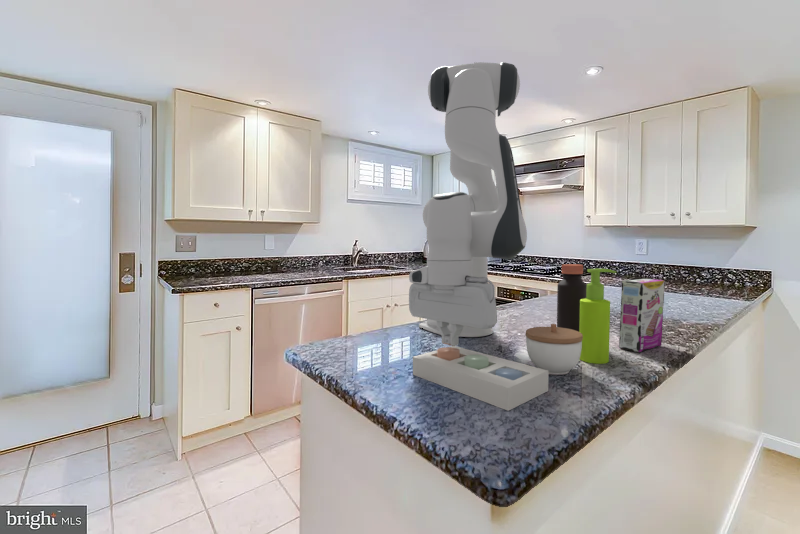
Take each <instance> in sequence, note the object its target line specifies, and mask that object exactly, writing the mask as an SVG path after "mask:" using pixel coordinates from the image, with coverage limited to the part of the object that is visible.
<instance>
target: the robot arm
mask: <svg viewBox="0 0 800 534" xmlns="http://www.w3.org/2000/svg"><path fill="white" fill-rule="evenodd" d="M519 75H520V74H519V73H518V67H516V65H515V64H512V63H508V62H504V61H503V62H500V63H498V62H497V63H495V62H484V61H483V62H474V63H465V64H455V65H451V66H448V65H444V66H440V67H438V68H435V69H434V71H433V72H432V73H431V75H430V79H429V81H428V86H427V93H428V94H427V95H428V99H429V101H430V106H431V107H432V108H433V109H435V110H436V111H438V112H441V113H445V120H444V137H445V138H444V139H445V143H446V145H447V147H448V148H449V150H450V156H449V157H450V159H449V170H450V173H451V175H452V177H453V178H454V179H456V180H457V181H459V182H461V183H463V184H464V185H465V186H466V189H467V191H468V193H466V192H462V191H454V192H445V193H437V194H434V195H433V196H431V197H430V199H429V200H427V202H426V203H425V205H424V207H423V210H422V211H423V212H422V220H423V223H424V226H425V228H426V241H427V244H428V252H427V256H426V265H425V266H423V267H421V268H418V269H415V270H413V271H410V272H409V274H408V280H409V282H410V283H411V284H410V286H409V291H408V310H409V312H410V314H411V316H412V317H414V318H415V317H416V318H420V319H425V320H426V321H422V322H420V323H419V324H418V328H420V329H422V328H423V330H426V331H428V332H430V333H434V334H438V335H439V336H441V343H442V344H444V345H447V346H449V347H451V346H457V347H458V345H459V337H462V338H463V337H465V338H478V337H485V336H489V335H491V334H493V333H494V330H493V328H494V327H495V326H496V324H497V323H498V310H497V304H496V303H497V302H496V296H495V295H496V293H495V292H496V291H495V290H496V289H495V285H494V283H493V282H492V281H491V280H489V279H488V258H494V259H501V260H502V259H503V260H511V259H513V258H514V257H517V255H519V254H520V253H521V252H522V251H524V249H525V247H526V245H527V239H528V231H527V226H526V222H525V220H524V216H523V212H522V211H523V210H522V205H521V198H520V193H519V185H518V179H517V173H516V165H515V162H514V161H515V160H514V155H513V152H512V151H513V150H512V147H511V144H510V141H509V140H508V138H507V137H506V135H503V134H500V132H499V131H498V127H497V125H496V122H497V121H496V119H497V118H496V115H497V117H501V115H502V114H501V113H503V112H505V111H507V110H509V109H510V108H511V107H512V106H513V104H515V101H516V99H517V97H518V95H519V92H520V87H521V83H520V82H521V81H520V76H519ZM492 171H493V173H494V178H495V182H494V179H493V174H492Z"/></svg>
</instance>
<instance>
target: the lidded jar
mask: <svg viewBox="0 0 800 534" xmlns="http://www.w3.org/2000/svg"><path fill="white" fill-rule="evenodd" d="M525 338H526V339H525V343H526V351H527V355H528V358H529V359H530V361H531V363H532V364H533V365H534V367H537V368H540V369H544V370H548V371H549V373H548V375H553V376H557V375H558V376H560V375H561V376H562V375H564V376H565V375H567V374H569V373H570V371H572V370H573V369H574V368H575V367H576V366H577V364H578V363H579V362H580V356H581V350H582V340H583V335H582V333H580V332H578V331H575V330H572V329H567V328H560V327H557V323H556V324H555V323H551V324H550V326H536V327H535V326H534V327H530V328H527V329H526V330H525Z"/></svg>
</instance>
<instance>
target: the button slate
mask: <svg viewBox="0 0 800 534" xmlns="http://www.w3.org/2000/svg"><path fill="white" fill-rule="evenodd" d="M496 375H497V376H500V377H504V378H507V379H510V380H515V379H518V378H520V377H522V372H520V371H519V370H515V369H509V368H503V369H498V370H496Z"/></svg>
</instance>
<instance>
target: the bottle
mask: <svg viewBox="0 0 800 534" xmlns="http://www.w3.org/2000/svg"><path fill="white" fill-rule="evenodd" d="M583 274H584V264H577V263H576V264H575V263H573V264H572V263H568V264H567V263H566V264H561V276H562V279H561V280H560V281H559V282H558V283H557V288H556V289H557V290H556V291H557V294H556V295H557V297H556V303H557V305H556V308H557V309H556V327H560V328H567V329H572V330H575V331H578V332H579V325H580V300H581V299H585V298H586V289H587V284H586V282H584V280H583V279H582V276H583Z"/></svg>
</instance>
